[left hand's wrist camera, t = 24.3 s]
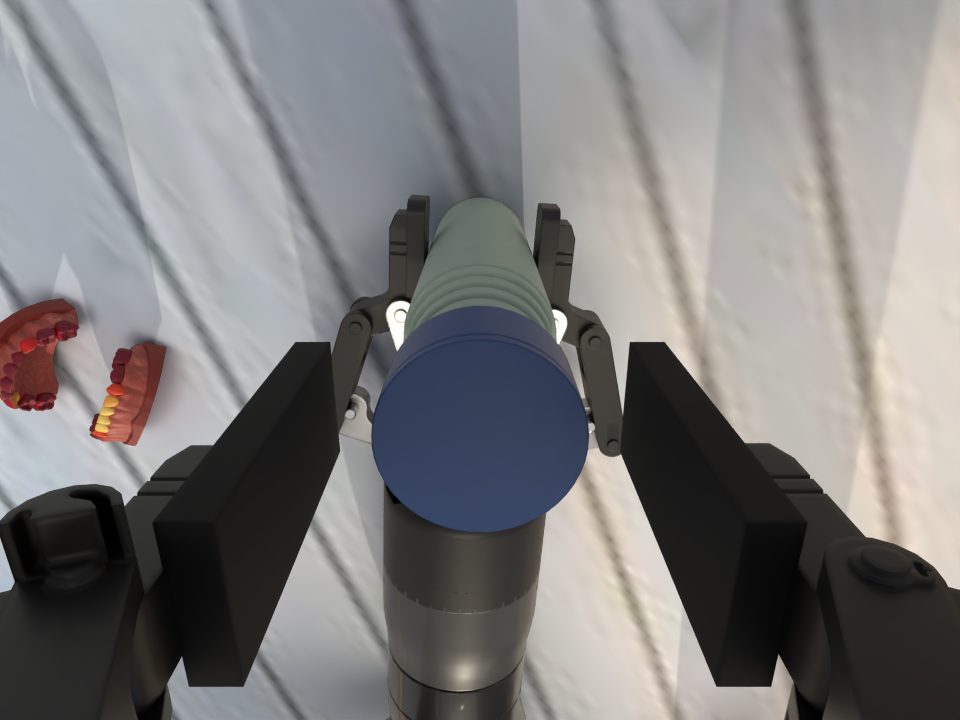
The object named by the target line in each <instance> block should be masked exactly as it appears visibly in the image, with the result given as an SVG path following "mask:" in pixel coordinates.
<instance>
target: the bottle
mask: <svg viewBox="0 0 960 720" xmlns="http://www.w3.org/2000/svg"><path fill="white" fill-rule="evenodd" d="M470 306H491V307H498V308H503V309H507V310H511V311H514V312H516V313H519V314H521V315H524V316H526V317H527V318H529V319H531V320H533V321H534V322H536V323H537V324H539V325H540V326H541V327H542V328H544V329H545V330H546V331H547V332H548V333H549V334H550V335H551V336H552V337H553V338H554V339H555V340H556V342H557V330H556V322H555V318H554V314H553V311H552V308H551V305H550V302H549V300H548V297H547V294H546V291H545V289H544V286H543V283H542V280H541V278H540V275H539V272H538V269H537V267H536V264H535V261H534V258H533V256H532V253H531V250H530V247H529V245H528V242H527V239H526V236H525V234H524V231H523V228H522V226H521V223H520V221H519V219H518V218H517V216H516V215H515V214H514V212H513V211H512V210H511V209H510V208H508V207H507V206H506V205H504V204H503V203H501V202H499V201H497V200H494V199H490V198H484V197H475V198H470V199H466V200H463V201H461V202H459V203H457V204H456V205H454V206H453V207H452V208H450V209H449V210H448V211H447V212H446V214H445V215H444V216H443V218H442V219H441V221H440V223H439V226H438V228H437V231H436V234H435V237H434V239H433V242H432V245H431V248H430V250H429V253H428V256H427V259H426V262H425V264H424V267H423V270H422V273H421V275H420V278H419V281H418V284H417V287H416V289H415V292H414V295H413V298H412V300H411V303H410V306H409V309H408V312H407V314H406V318H405V323H404V333H403V336H404V337H403V342H404V341H405V340H406V338H407V337H408V336H409V335H410V334H411V333H412V332H413V331H414V330H415V329H416V328H418V327H419V326H420V325H422V324H423V323H425V322H426V321H428V320H429V319H431V318H433V317H435V316H437V315H439V314H442V313H444V312H447V311H449V310H453V309H457V308H461V307H470Z"/></svg>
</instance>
